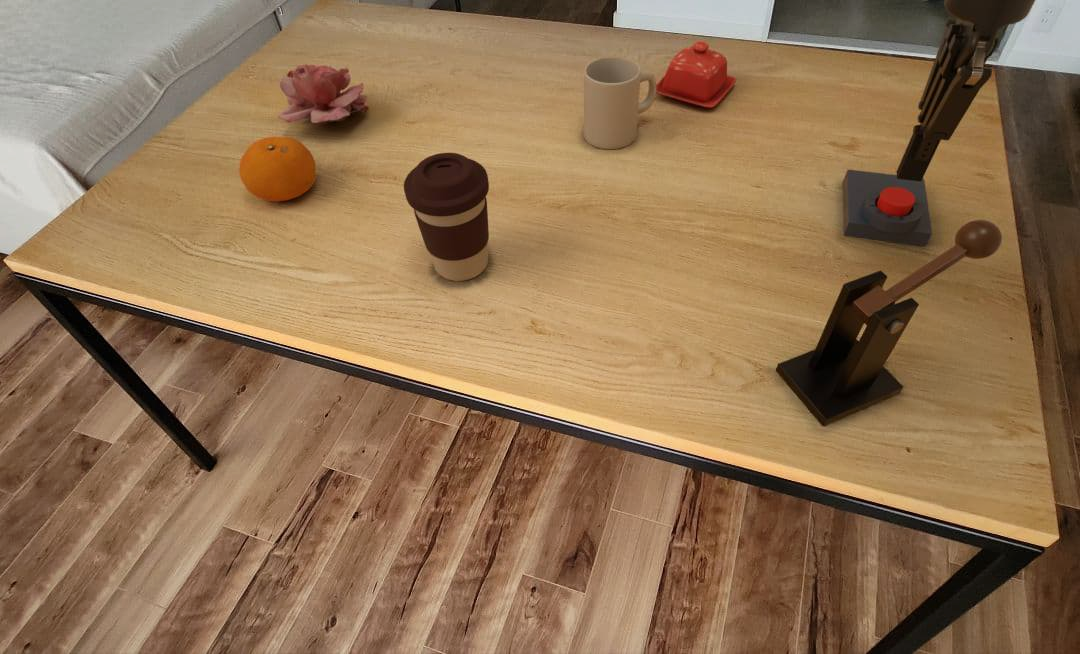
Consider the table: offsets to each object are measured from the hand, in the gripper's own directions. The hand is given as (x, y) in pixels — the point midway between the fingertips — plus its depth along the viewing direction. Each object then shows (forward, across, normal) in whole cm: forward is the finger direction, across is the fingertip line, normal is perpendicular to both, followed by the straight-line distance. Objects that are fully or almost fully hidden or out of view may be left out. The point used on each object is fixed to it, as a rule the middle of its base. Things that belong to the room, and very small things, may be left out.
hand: (908, 176), depth 79 cm
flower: (+9, +9, +88) cm, 89 cm away
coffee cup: (+9, -19, +53) cm, 57 cm away
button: (+5, 0, 0) cm, 5 cm away
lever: (-4, -23, +1) cm, 24 cm away
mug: (+9, +16, +39) cm, 43 cm away
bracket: (+9, -27, +6) cm, 29 cm away
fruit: (+9, -10, +85) cm, 86 cm away
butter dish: (+8, +31, +29) cm, 43 cm away
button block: (+9, +4, 0) cm, 9 cm away
